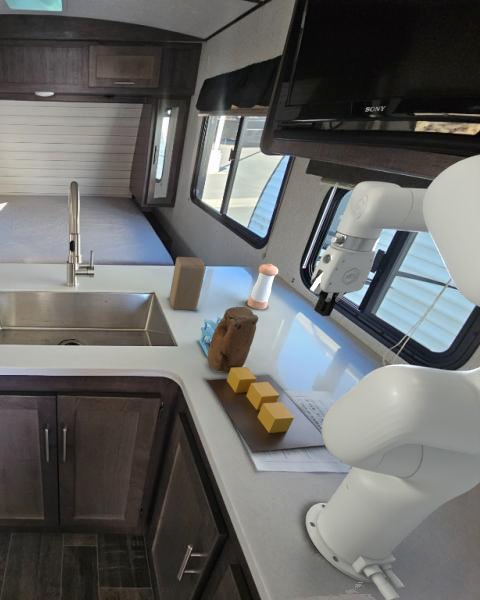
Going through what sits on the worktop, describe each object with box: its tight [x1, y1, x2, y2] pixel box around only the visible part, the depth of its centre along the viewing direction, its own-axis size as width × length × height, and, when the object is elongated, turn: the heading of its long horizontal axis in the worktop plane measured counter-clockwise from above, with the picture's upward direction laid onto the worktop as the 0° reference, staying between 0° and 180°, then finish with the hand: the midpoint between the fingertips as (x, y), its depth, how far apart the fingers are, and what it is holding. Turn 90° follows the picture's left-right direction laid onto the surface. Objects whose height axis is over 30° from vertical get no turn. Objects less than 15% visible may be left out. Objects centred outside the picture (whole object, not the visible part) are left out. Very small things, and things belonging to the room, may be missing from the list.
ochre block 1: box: [226, 366, 257, 393], centre depth 93 cm, size 5×5×5 cm
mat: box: [206, 375, 326, 453], centre depth 87 cm, size 24×20×1 cm
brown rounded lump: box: [207, 306, 259, 373], centre depth 97 cm, size 11×8×20 cm
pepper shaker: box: [246, 263, 279, 311], centre depth 132 cm, size 7×7×19 cm
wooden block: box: [168, 256, 207, 311], centre depth 131 cm, size 10×10×20 cm
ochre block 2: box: [246, 382, 279, 410], centre depth 87 cm, size 5×5×5 cm
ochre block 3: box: [258, 402, 294, 433], centre depth 81 cm, size 5×5×5 cm
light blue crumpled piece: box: [199, 316, 223, 357], centre depth 107 cm, size 8×8×12 cm
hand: (321, 313), depth 79 cm, fingers closed
